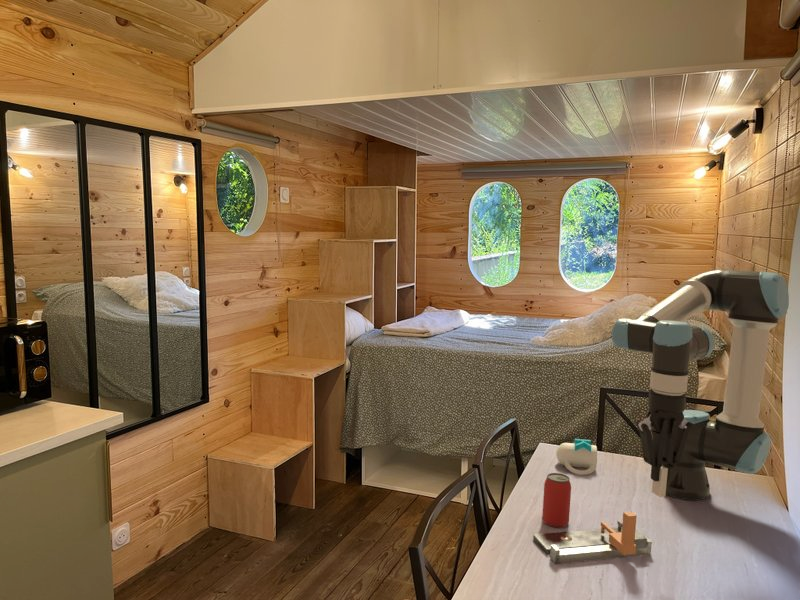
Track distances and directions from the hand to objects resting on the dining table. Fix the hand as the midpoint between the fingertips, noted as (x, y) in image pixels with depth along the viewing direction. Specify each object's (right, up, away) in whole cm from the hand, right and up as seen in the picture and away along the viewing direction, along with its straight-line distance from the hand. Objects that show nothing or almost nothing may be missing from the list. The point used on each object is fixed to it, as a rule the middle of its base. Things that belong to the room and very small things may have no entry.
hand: (658, 494), depth 137 cm
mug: (-3, -10, +55) cm, 56 cm away
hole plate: (-14, -14, +9) cm, 21 cm away
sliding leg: (-8, -13, +5) cm, 16 cm away
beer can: (-18, -13, +18) cm, 29 cm away
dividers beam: (-13, -15, +5) cm, 20 cm away
